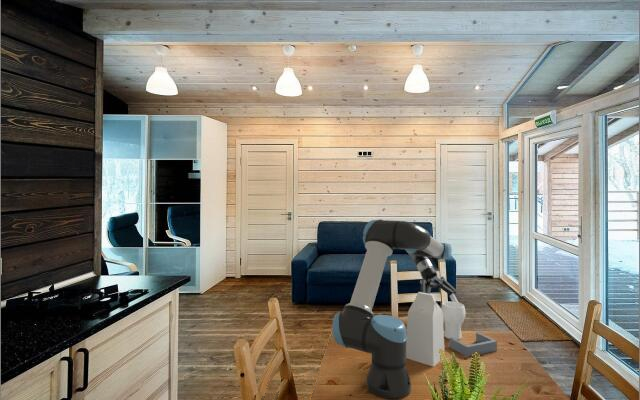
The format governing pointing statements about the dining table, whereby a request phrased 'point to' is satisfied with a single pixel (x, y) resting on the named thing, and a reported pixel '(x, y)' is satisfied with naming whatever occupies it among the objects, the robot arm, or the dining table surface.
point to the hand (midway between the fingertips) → (446, 308)
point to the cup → (453, 319)
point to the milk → (424, 330)
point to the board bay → (474, 345)
